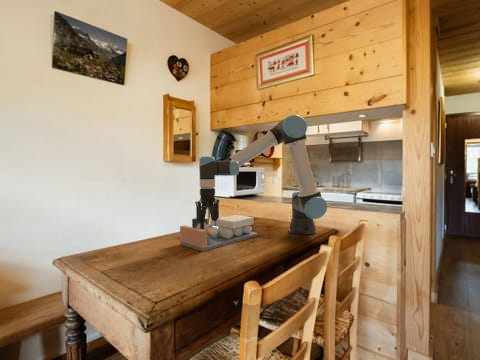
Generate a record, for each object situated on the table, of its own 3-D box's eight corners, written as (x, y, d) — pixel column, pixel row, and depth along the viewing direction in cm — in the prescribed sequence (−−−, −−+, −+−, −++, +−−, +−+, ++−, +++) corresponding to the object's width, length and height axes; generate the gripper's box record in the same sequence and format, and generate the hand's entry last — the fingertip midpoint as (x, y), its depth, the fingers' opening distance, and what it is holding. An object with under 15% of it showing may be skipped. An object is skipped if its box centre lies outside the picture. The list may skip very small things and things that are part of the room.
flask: (208, 233, 154) (208, 215, 154) (207, 235, 151) (207, 216, 151) (192, 233, 155) (192, 215, 154) (191, 235, 152) (191, 216, 151)
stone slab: (254, 223, 148) (254, 217, 148) (233, 228, 137) (233, 221, 137) (236, 220, 158) (236, 214, 158) (215, 225, 146) (215, 218, 146)
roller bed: (258, 235, 148) (258, 219, 147) (202, 251, 121) (202, 231, 120) (235, 230, 160) (235, 215, 160) (180, 244, 133) (179, 226, 133)
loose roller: (220, 235, 132) (220, 225, 131) (213, 238, 128) (212, 228, 128) (204, 231, 141) (203, 222, 140) (196, 234, 137) (195, 224, 137)
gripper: (216, 186, 142) (217, 230, 143) (187, 188, 129) (188, 236, 130) (226, 187, 137) (226, 232, 138) (197, 189, 124) (198, 239, 125)
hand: (208, 234), depth 134 cm, fingers closed on loose roller, 5 cm apart
